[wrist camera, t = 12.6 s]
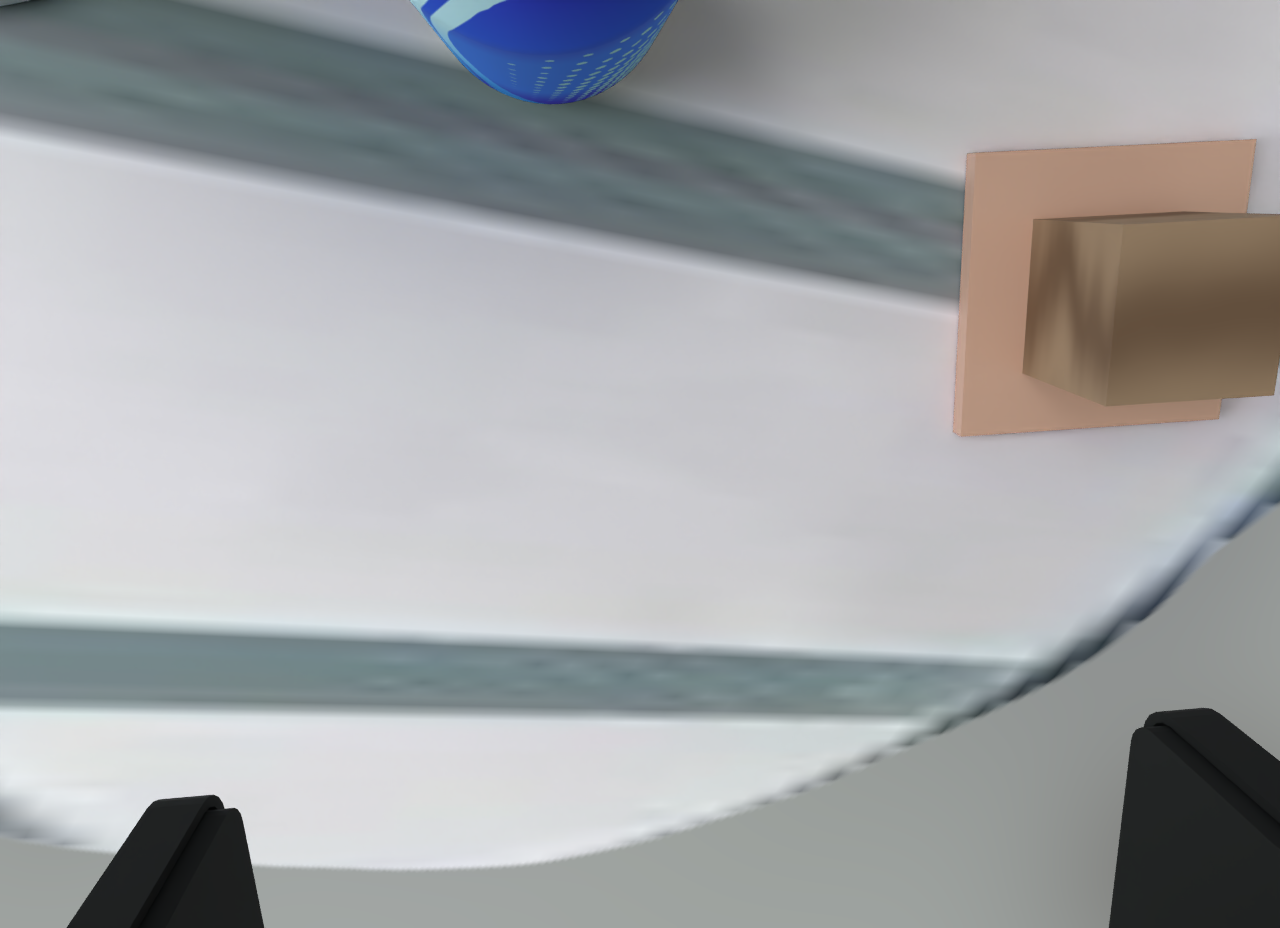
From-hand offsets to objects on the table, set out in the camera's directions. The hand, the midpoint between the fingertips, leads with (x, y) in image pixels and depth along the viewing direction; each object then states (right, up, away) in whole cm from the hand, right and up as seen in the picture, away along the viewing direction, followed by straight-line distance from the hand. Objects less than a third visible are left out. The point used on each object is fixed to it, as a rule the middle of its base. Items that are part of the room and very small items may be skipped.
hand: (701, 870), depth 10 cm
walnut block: (+18, +11, +27) cm, 34 cm away
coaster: (+18, +11, +28) cm, 35 cm away
